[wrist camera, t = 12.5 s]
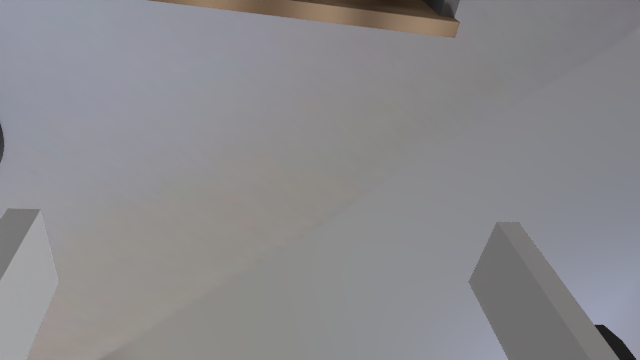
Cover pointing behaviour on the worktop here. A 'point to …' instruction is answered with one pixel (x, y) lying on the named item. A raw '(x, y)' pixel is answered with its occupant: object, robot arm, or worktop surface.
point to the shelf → (353, 12)
